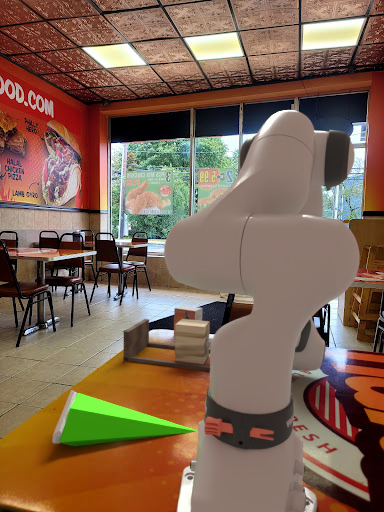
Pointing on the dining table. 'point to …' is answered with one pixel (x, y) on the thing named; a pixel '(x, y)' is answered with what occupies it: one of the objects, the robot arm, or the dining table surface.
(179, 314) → the small box
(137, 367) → the dining table surface
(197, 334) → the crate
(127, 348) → the bay
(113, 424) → the paper cone
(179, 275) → the robot arm
